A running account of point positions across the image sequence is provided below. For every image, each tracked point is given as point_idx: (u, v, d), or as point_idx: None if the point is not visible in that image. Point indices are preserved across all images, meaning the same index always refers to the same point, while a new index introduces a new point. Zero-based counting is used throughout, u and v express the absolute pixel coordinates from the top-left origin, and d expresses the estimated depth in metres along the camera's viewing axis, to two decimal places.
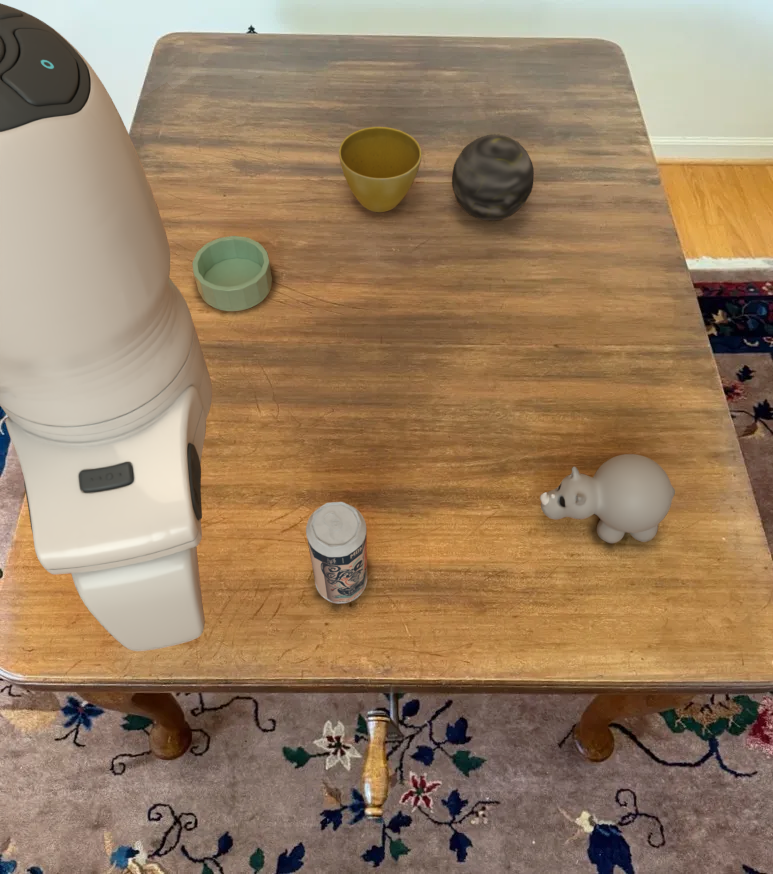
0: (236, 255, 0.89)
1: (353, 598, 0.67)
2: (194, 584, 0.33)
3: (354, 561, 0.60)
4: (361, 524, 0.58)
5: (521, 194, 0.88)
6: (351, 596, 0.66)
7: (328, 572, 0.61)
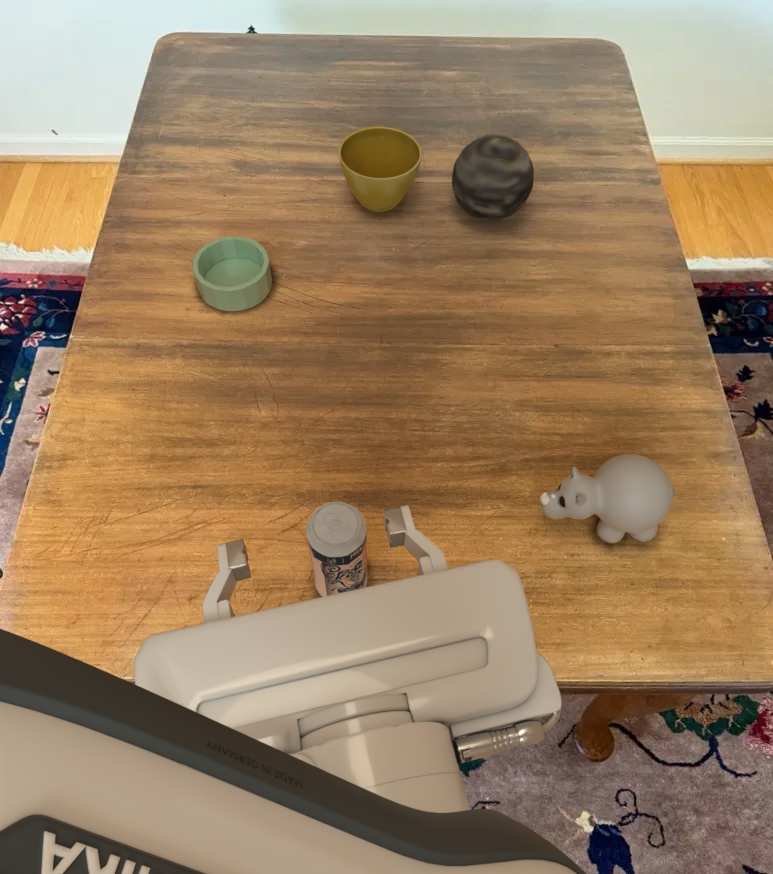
0: (236, 255, 0.89)
1: None
2: None
3: (354, 561, 0.60)
4: (361, 524, 0.58)
5: (521, 194, 0.88)
6: None
7: (328, 572, 0.61)
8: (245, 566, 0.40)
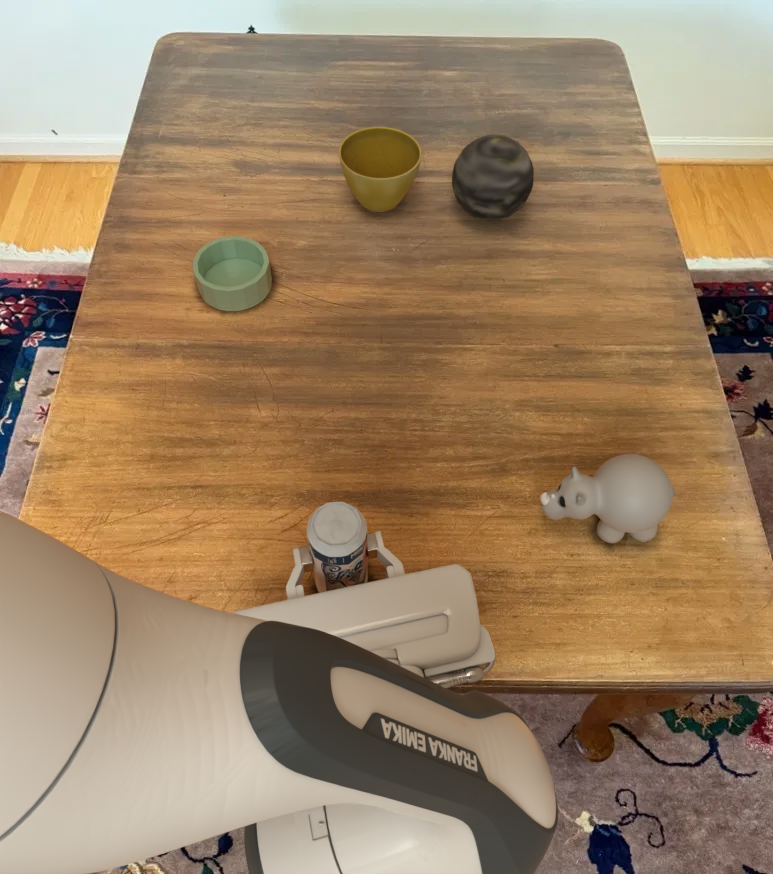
0: (236, 255, 0.89)
1: None
2: None
3: (354, 560, 0.60)
4: (362, 524, 0.58)
5: (521, 194, 0.88)
6: None
7: (329, 572, 0.61)
8: (312, 563, 0.61)
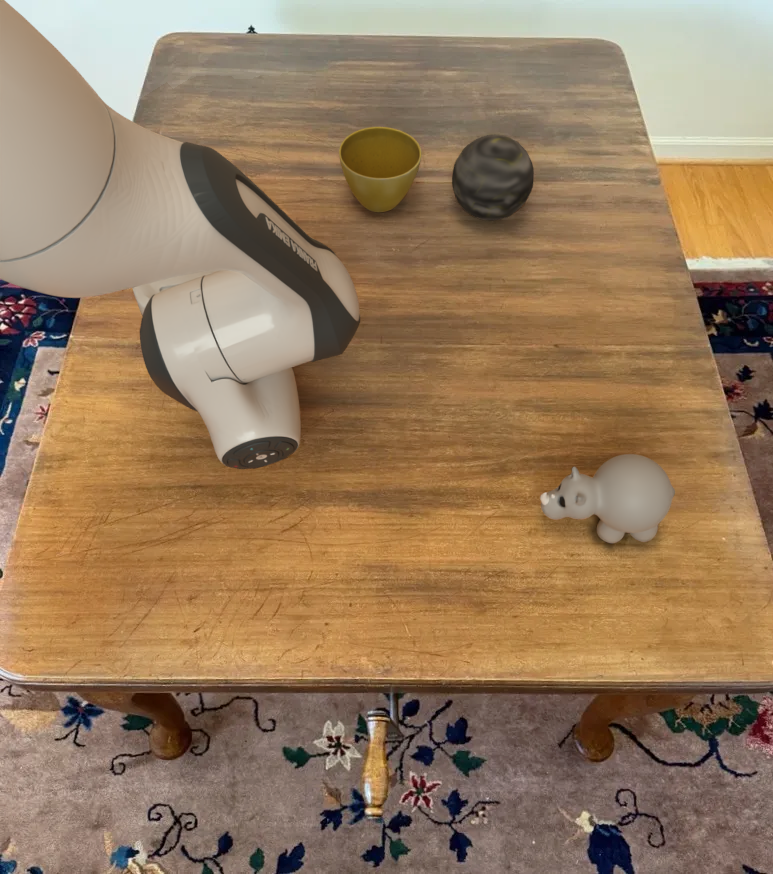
0: None
1: None
2: None
3: None
4: None
5: (521, 194, 0.88)
6: None
7: None
8: None
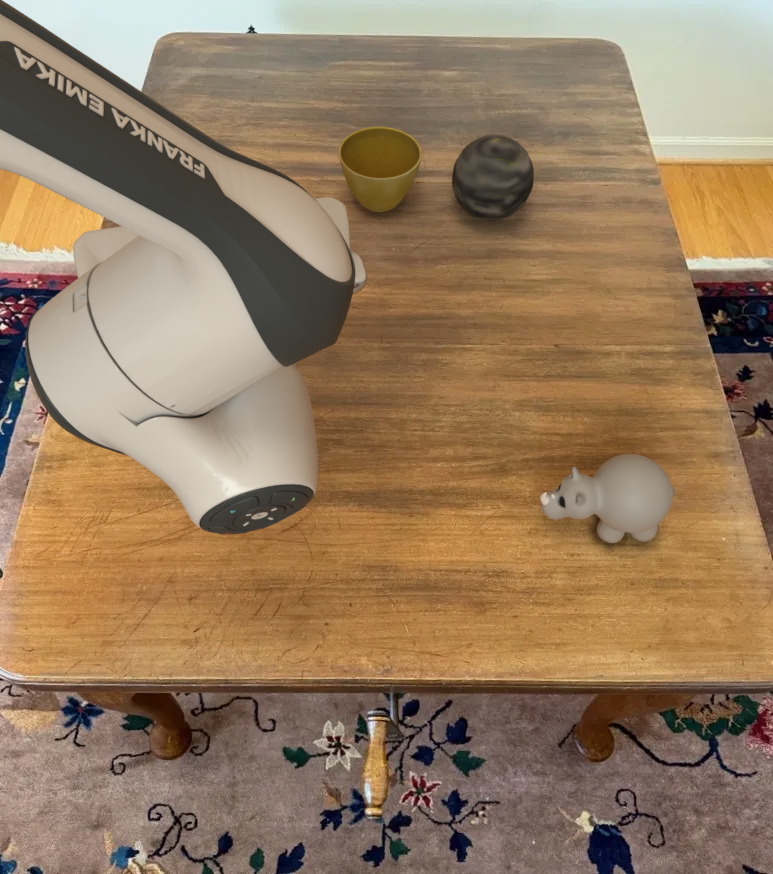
0: None
1: None
2: None
3: None
4: None
5: (521, 194, 0.88)
6: None
7: None
8: None
